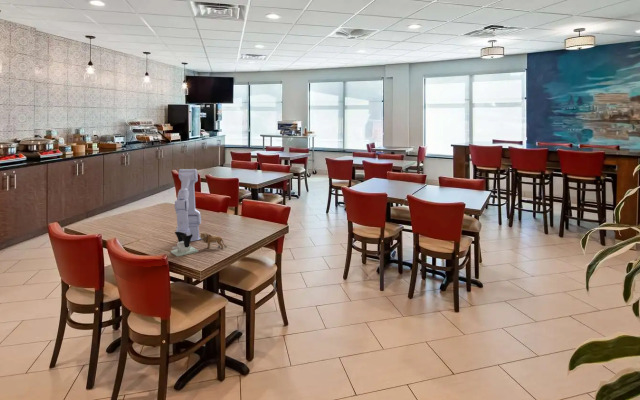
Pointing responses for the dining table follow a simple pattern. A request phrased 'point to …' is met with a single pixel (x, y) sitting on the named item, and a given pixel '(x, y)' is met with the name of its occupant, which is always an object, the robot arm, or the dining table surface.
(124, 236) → the dining table surface
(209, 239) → the lion figurine
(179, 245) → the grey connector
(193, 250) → the pale green rectangular panel
